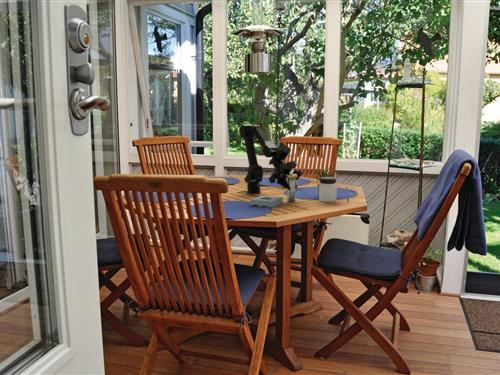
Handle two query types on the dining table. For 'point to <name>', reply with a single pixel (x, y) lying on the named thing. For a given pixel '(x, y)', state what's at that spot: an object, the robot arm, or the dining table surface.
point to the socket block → (267, 201)
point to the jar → (327, 189)
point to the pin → (291, 186)
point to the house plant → (323, 175)
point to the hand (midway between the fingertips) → (293, 189)
